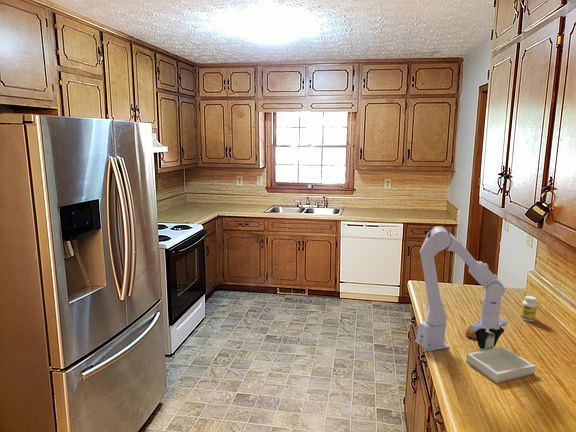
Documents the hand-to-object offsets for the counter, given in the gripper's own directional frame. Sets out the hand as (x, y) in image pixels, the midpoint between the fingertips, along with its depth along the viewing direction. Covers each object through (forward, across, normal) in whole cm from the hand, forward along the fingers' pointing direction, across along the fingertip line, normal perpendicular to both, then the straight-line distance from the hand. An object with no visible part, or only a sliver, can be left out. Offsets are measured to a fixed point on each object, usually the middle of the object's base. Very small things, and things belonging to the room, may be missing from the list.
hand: (486, 346), depth 150 cm
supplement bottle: (+2, +38, +16) cm, 41 cm away
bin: (+2, -4, -10) cm, 11 cm away
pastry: (+2, +6, +12) cm, 13 cm away
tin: (+2, 0, 0) cm, 2 cm away
